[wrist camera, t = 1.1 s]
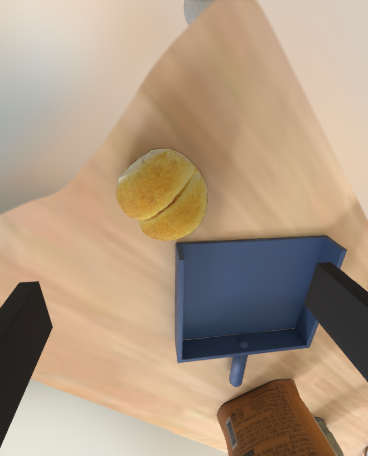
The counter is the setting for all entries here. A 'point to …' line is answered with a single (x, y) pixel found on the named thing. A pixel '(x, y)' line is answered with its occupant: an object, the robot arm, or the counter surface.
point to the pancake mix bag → (272, 424)
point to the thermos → (329, 436)
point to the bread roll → (163, 194)
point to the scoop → (246, 297)
